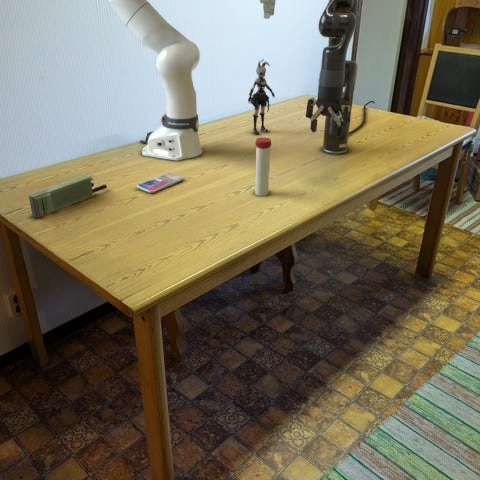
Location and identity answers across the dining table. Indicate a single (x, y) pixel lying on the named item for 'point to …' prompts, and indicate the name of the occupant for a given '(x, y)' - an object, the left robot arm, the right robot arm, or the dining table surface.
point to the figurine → (260, 96)
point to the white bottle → (262, 171)
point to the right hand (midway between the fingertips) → (325, 134)
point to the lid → (263, 142)
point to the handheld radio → (62, 195)
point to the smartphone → (159, 182)
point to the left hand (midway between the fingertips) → (268, 16)
